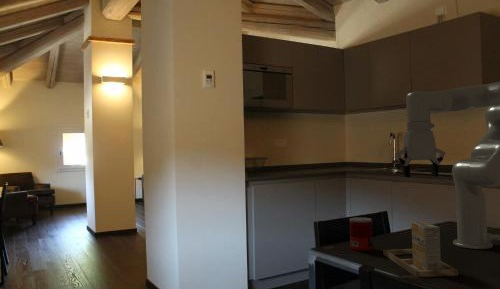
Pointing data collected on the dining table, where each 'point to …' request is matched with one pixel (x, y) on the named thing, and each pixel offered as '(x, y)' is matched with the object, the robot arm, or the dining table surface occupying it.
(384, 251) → the wooden divided tray
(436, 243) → the supplement box
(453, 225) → the dining table surface
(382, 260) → the dining table surface
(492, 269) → the dining table surface
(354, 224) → the canned food
